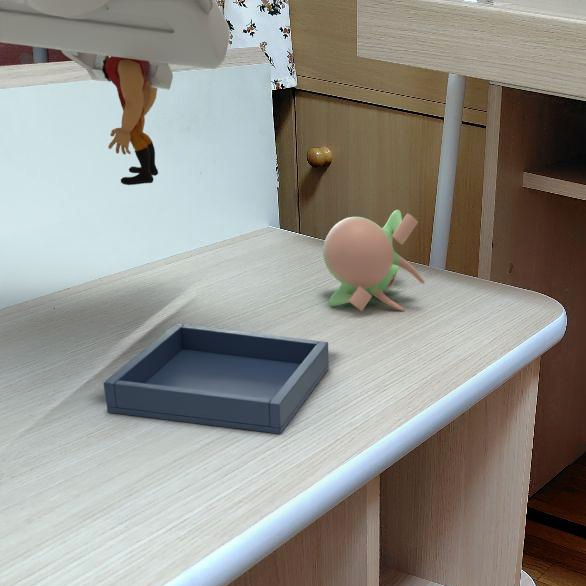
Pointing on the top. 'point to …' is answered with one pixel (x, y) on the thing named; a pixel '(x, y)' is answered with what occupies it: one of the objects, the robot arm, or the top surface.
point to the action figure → (133, 115)
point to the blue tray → (219, 378)
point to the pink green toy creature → (366, 258)
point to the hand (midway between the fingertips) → (133, 78)
